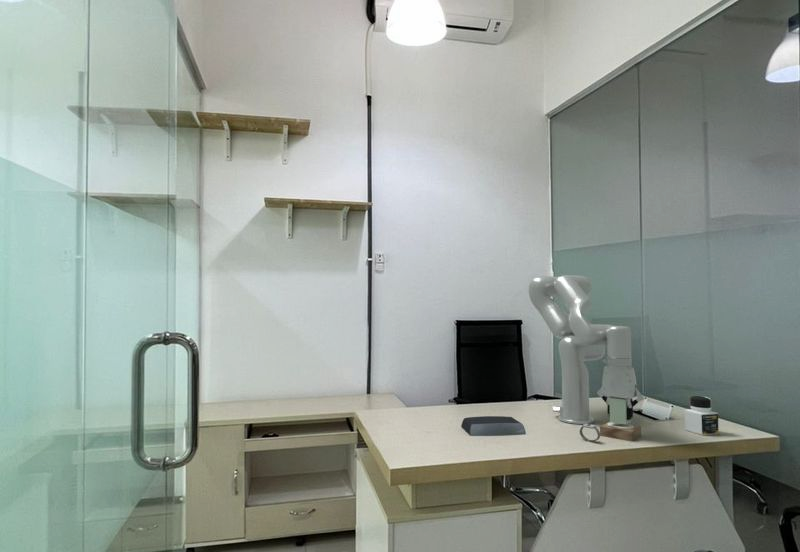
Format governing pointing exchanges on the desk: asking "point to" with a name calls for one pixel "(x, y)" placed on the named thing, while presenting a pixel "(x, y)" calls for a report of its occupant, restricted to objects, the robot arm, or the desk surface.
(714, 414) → the medicine bottle
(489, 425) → the external hard drive
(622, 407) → the sage block
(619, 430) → the pedestal
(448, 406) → the desk surface
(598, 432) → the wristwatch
